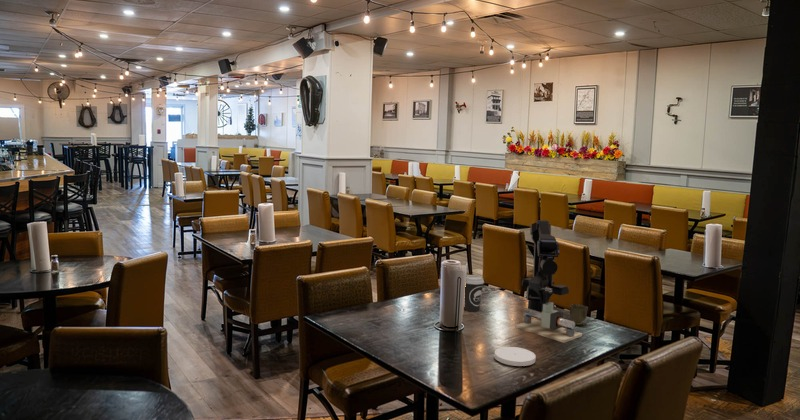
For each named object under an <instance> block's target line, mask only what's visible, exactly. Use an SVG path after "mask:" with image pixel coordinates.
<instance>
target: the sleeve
mask: <svg viewBox="0 0 800 420" xmlns="http://www.w3.org/2000/svg"><path fill="white" fill-rule="evenodd" d="M558 311H559V310H555V309H554V302H552V301H548V302H547V303H545V304H543V311H542V318H541V320H540V321H541V326H543V327H546V328H549V329H550V314H552V313H555V312H558Z"/></svg>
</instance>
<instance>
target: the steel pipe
mask: <svg viewBox="0 0 800 420" xmlns="http://www.w3.org/2000/svg"><path fill="white" fill-rule="evenodd" d="M532 318H533V319H535V320H539V321H541V318H542V312H539V311H535V310H531V309H528V307H526V308H525V309H524V311H523V322H524V323H526V324H529V323H531V320H532ZM556 324H557V325H559V326H562V328H564V327H565V328H566V329H567V330H566V336H569V337H572V336H574V331H575V327H576V325H575V322H574V321H573V320H571V319H567V318H566V319H565V318H564V317H563V318H561V317H557V318H556Z"/></svg>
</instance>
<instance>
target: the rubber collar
mask: <svg viewBox="0 0 800 420" xmlns="http://www.w3.org/2000/svg"><path fill="white" fill-rule="evenodd" d="M557 311H558V312H555V313H552V314H550V329H552V330H555V329H558V328H561V327H562V328H563V326H559V325H557V324H556V318H557V317H561V318H563V319H564V312H563V311H560V310H557Z"/></svg>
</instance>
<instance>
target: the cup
mask: <svg viewBox="0 0 800 420" xmlns="http://www.w3.org/2000/svg"><path fill="white" fill-rule="evenodd" d="M588 311H589V306H587V305H584V304H579V303H577V304H575V303H573V304H572V303H571V304H570V305H569V315H570V316H569V317H570V320H571V321H574V322H575V326H578V327H579V326H582V325H583V322H584V321H585V320H586V318H587V314H588Z"/></svg>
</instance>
